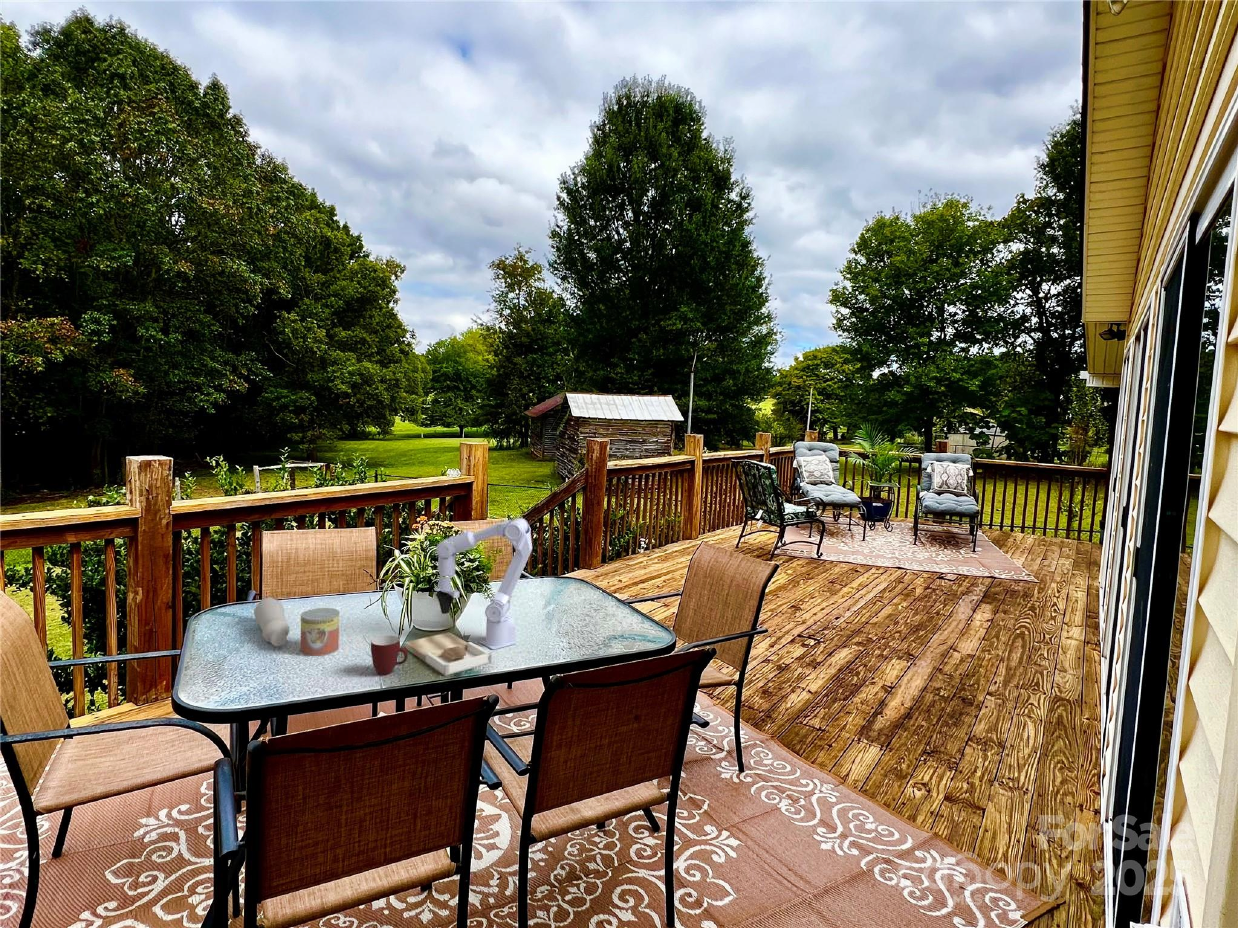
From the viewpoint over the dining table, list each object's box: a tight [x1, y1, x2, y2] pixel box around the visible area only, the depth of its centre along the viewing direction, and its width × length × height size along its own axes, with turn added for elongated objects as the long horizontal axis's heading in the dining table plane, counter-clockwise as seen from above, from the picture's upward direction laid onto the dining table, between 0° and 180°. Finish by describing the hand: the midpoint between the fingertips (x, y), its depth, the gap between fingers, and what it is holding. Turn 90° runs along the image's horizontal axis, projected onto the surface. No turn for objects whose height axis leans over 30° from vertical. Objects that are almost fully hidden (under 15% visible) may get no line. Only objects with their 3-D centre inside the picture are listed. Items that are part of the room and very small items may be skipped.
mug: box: [370, 634, 409, 676], centre depth 189 cm, size 10×8×10 cm
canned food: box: [299, 607, 340, 657], centre depth 202 cm, size 11×11×12 cm
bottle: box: [253, 597, 291, 647], centre depth 213 cm, size 9×9×30 cm
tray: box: [425, 641, 492, 677], centre depth 199 cm, size 16×13×3 cm
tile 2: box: [442, 653, 464, 662], centre depth 201 cm, size 5×5×2 cm
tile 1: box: [444, 646, 466, 659], centre depth 200 cm, size 5×5×2 cm
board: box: [404, 631, 468, 663], centre depth 209 cm, size 16×14×2 cm
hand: (445, 612), depth 217 cm, fingers closed
